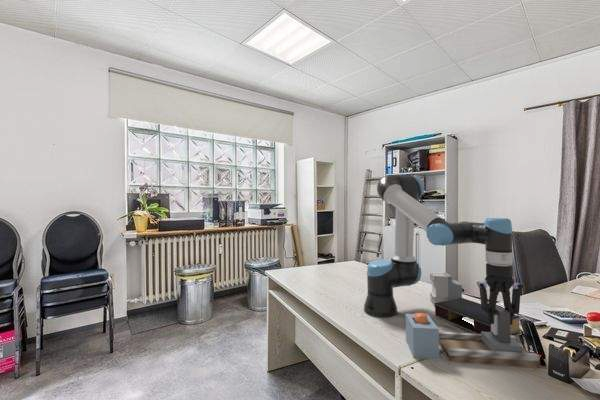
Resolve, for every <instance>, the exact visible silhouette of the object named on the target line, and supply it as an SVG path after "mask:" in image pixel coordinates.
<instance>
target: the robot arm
mask: <svg viewBox="0 0 600 400" xmlns="http://www.w3.org/2000/svg"><path fill="white" fill-rule="evenodd" d="M376 191H377V194H378V196H379V197H380V199H381V200H382V201H383V202H385V203H386V204H388V205H392V206H393V207H394V208H395V217H394V218H395V220H394V221H395V223H394V224H395V226H394V227H395V228H394V254H393V255H391V258H390V260H388V259H376V260H373V261H371V262H369V263H368V264H367V268H366V269H367V270H366V277H367V279H366V280H367V295H366V298H365V301H364V305H363V310H364V312H365V313H366V314H368V316H369V315H370V316H373V317H375V318H376V317H379V318H391V317H394V316H396V315H398V306H397V304H396V301H395V297H394V288H400V287H410V286H413V285H416V284H417V283H418V282H419V281H420V280H421V278H422V268H421V267H420V264H419V263H418V261H417V258H416V257H415V256H414V242H415V241H414V236H415V225H417V226H418V227H419V228H421V229H422V230H423V231H425V232H426V233H425V234H426V239H428V242H429V243H430V244H432V245H433V246H441V247H442V246H449V245H450V246H451V245H460V244H470V243H471V244H480V245H485V246H484V247H485V262H486V264H485V278H484V280H483V281H477V282H476V285H477V287H478V289H479V297H480V304H481V307H482V310H483V311H485V312H486V313H488V321H489V323H491V332H492V333H494V334H495V335H498V322H497V315H496V314H495V309H496V306H497V301H498V296H499V293H501V295H502V301H503V308H504V309H506V310H507V311H509V312H510V325H512V324H513V322H512V317H513V316H514V315H518V314H520V307H521V294H522V290H523V288H524V286H523V284H521V283H519V282H516V281H515V280H514V266H513V263H514V262H513V261H514V259H513V258H514V257H513V255H514V253H513V232H514V231H513V227H512V226H513V225H512V220H511V219H509V218H507V217H487V218H485V219H484V222H473V221H457V222H451V223H450V222H448V221H447V220H445V219H443V218H442V217H441V216H439V215H438V214H436V212H433V211H432V210H431V209H430V208H428V207H427V206H426V205H424V204H422V203H421V202H420V201H419V199H421V198H422V196H423V195H424V192H425V186H424V183H423V181H422V180H421V178H420V177H418V176H417V175H414V174H413V175H412V174H387V175H385V176H383V177H381V178H380V179H379V181H378V182H377V185H376ZM487 286H488V287H489V295H488V291H487ZM510 289H511V291H512V292H511V291H510Z"/></svg>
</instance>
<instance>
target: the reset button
mask: <svg viewBox="0 0 600 400" xmlns="http://www.w3.org/2000/svg"><path fill="white" fill-rule="evenodd" d="M414 314H415V323H418V324H427V315H428V314H427V313H426V314H425V313H424V312H416V313H414Z"/></svg>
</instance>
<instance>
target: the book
mask: <svg viewBox="0 0 600 400" xmlns="http://www.w3.org/2000/svg"><path fill="white" fill-rule="evenodd" d="M434 311H435V312H434V313H435V315H434V317H436V318H437V319H440V320H442V321H445V322H447V323H450V324H452V325H454V326H455V327H458V328H461V329H463V330H466V331H468V332H470V333H474V334H481V332H491V323H489V321H488V313H486V312H485V311H483V310H482V307H481V303H479V302H476V301H474V300H473V301H472V300H469V299H467V298H464V297H462V298H457V299H452V300H448V301H443V302H438V303H435V306H434ZM463 317H468V318H470V319H473V320H474V326H473V325H472V324H470V323H468V322H466V321H464V320H462V318H463ZM520 318H521V317H520V316H518V315H517V314H514V316H513V317H512V322H513V324H512V325H510V335H511V336H512V335H515V334H517V333H521V330H520Z"/></svg>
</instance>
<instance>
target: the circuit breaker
mask: <svg viewBox="0 0 600 400" xmlns="http://www.w3.org/2000/svg"><path fill="white" fill-rule="evenodd" d="M429 281H430V283H431V291H430V293H429V297H430V303H431V304H432V305H433V307H435V303H438V302H443V301H448V300H452V299H457V298H463V293H464V292H465V289H464V288H463V285H462V283H460V282H459V281H458V280H453V279H452V275H450V274H449V273H448V272H437V271H436V272H435V271H434V272H433V271H432V272H431V271H430V274H429Z"/></svg>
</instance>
